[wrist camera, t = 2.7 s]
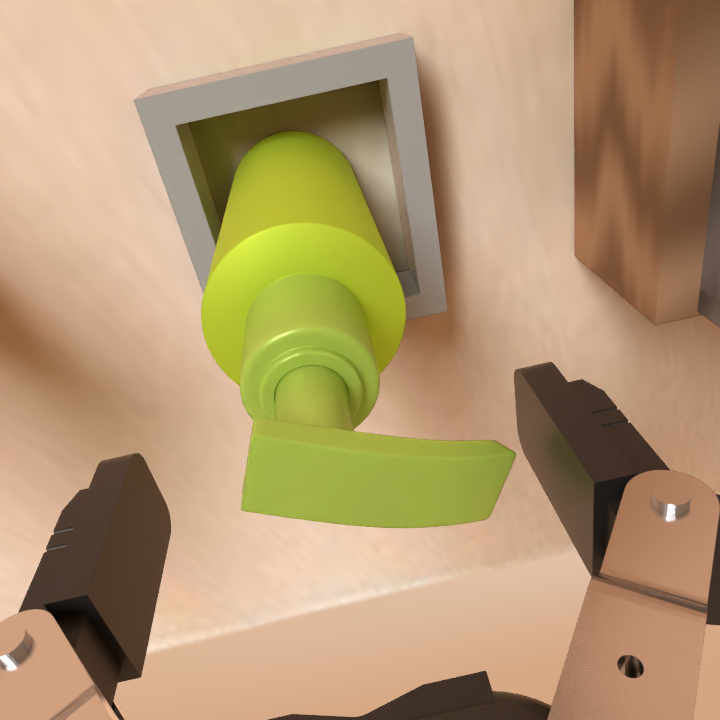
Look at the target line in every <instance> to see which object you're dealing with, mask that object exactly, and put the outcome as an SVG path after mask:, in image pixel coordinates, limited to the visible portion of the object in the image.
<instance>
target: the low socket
mask: <svg viewBox="0 0 720 720" xmlns="http://www.w3.org/2000/svg"><path fill="white" fill-rule="evenodd" d="M376 80H379V86H380V93H381V99H382V105H383V112H384V118H385V124H386V130H387V137H388V143H389V149H390V156H391V162H392V168H393V174H394V181H395V187H396V193H397V200H398V206H399V212H400V218H401V225H402V231H403V237H404V244H405V250H406V256H407V263H408V269H409V270H406V271H402V272H398V273H396V274H397V276H398V278H399V281H400V283H401V286H402V289H403V293H404V298H405V305H406V320H409V319H414V318H418V317H423V316H427V315H432V314H436V313H441V312H445V311H448V308H447V301H446V293H445V285H444V277H443V269H442V261H441V253H440V245H439V238H438V230H437V222H436V214H435V206H434V198H433V190H432V182H431V175H430V167H429V159H428V151H427V143H426V135H425V127H424V119H423V112H422V104H421V96H420V88H419V80H418V72H417V64H416V56H415V49H414V41H413V37H411V36H407V35H404V34H400V33H399V34H394V35H390V36H385V37H381V38H377V39H372V40H368V41H363V42H359V43H354V44H350V45H345V46H341V47H336V48H332V49H327V50H323V51H318V52H314V53H310V54H305V55H301V56H296V57H292V58H287V59H283V60H278V61H274V62H269V63H265V64H260V65H256V66H252V67H247V68H243V69H238V70H234V71H229V72H225V73H220V74H216V75H211V76H207V77H202V78H198V79H193V80H189V81H185V82H180V83H176V84H171V85H167V86H162V87H158V88H153V89H149V90H147V91H145V92H144V93H143V94H141V95H140V96H138V97H137V98H135V99H134V103H135V105H136V108H137V111H138V114H139V116H140V119H141V122H142V125H143V128H144V130H145V133H146V136H147V139H148V141H149V144H150V147H151V150H152V152H153V155H154V158H155V161H156V164H157V166H158V169H159V172H160V175H161V177H162V180H163V183H164V186H165V188H166V191H167V194H168V197H169V200H170V202H171V205H172V208H173V211H174V213H175V216H176V219H177V222H178V224H179V227H180V230H181V233H182V236H183V238H184V241H185V244H186V247H187V249H188V252H189V255H190V258H191V261H192V263H193V266H194V269H195V272H196V274H197V277H198V280H199V283H200V285H201V288H202V291H203V294H204V291H205V287H206V283H207V279H208V276H209V272H210V268H211V264H212V260H213V256H214V252H215V249H216V245H217V241H218V237H219V233H220V229H221V226H222V225H221V222H220V219H219V216H218V213H217V210H216V207H215V203H214V200H213V197H212V194H211V191H210V188H209V185H208V182H207V179H206V176H205V172H204V169H203V166H202V163H201V160H200V157H199V154H198V151H197V148H196V145H195V141H194V138H193V135H192V132H191V129H190V126H189V123H188V122H193V121H197V120H202V119H206V118H211V117H215V116H219V115H224V114H228V113H233V112H237V111H242V110H246V109H251V108H255V107H260V106H264V105H269V104H273V103H278V102H282V101H286V100H291V99H295V98H300V97H304V96H309V95H313V94H318V93H322V92H327V91H331V90H336V89H340V88H345V87H349V86H353V85H358V84H362V83H367V82H371V81H376Z"/></svg>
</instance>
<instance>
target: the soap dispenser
mask: <svg viewBox="0 0 720 720" xmlns="http://www.w3.org/2000/svg"><path fill="white" fill-rule="evenodd" d="M405 320H406V305H405V298H404V293H403V289H402V286H401V283H400V281H399V278H398V276H397V274H396V271H395V269H394V267H393V264H392V262H391V259H390V257H389V255H388V252H387V250H386V248H385V245H384V243H383V241H382V238H381V236H380V234H379V231H378V229H377V226H376V224H375V222H374V219H373V217H372V215H371V212H370V210H369V208H368V205H367V203H366V201H365V198H364V196H363V193H362V191H361V189H360V186H359V184H358V182H357V179H356V177H355V175H354V172H353V170H352V168H351V166H350V164H349V162H348V161H347V159H346V158H345V156H344V155H343V154H342V153H341V152H340V151H339V150H338V149H337V148H336V147H335V146H334V145H333V144H331V143H330V142H328V141H327V140H325V139H323V138H321V137H319V136H317V135H314V134H311V133H307V132H301V131H286V132H280V133H276V134H273V135H271V136H268V137H266V138H264V139H262V140H261V141H259V142H258V143H256V144H255V145H254V146H253V147H252V148H251V149H250V150H249V151H248V152H247V153H246V154H245V155H244V157H243V158H242V160H241V161H240V163H239V165H238V167H237V170H236V172H235V175H234V179H233V183H232V187H231V191H230V195H229V199H228V202H227V206H226V210H225V214H224V218H223V222H222V226H221V229H220V233H219V237H218V241H217V245H216V249H215V252H214V256H213V260H212V264H211V268H210V272H209V276H208V279H207V283H206V287H205V291H204V295H203V300H202V309H201V321H202V328H203V333H204V337H205V340H206V343H207V346H208V348H209V350H210V352H211V354H212V356H213V358H214V359H215V361H216V362H217V364H218V365H219V366H220V368H221V369H222V370H223V371H224V372H225V373H226V374H227V375H228V376H229V377H230V378H231V379H232V380H233V381H234V382H235V383H237V384H238V385H239V386H240V393H241V398H242V401H243V404H244V407H245V409H246V411H247V412H248V414H249V415H250V417H251V418H252V419H253V427H252V433H251V440H250V446H249V453H248V459H247V465H246V472H245V478H244V484H243V492H242V505H241V510H242V511H247V512H254V513H260V514H267V515H274V516H281V517H288V518H295V519H302V520H310V521H318V522H326V523H334V524H343V525H353V526H365V527H381V528H423V527H437V526H448V525H456V524H463V523H470V522H476V521H481V520H485V519H487V518H489V516H490V515H491V513H492V510H493V508H494V506H495V504H496V501H497V499H498V497H499V494H500V492H501V490H502V488H503V485H504V483H505V481H506V478H507V476H508V473H509V471H510V469H511V466H512V464H513V462H514V459H515V456H516V453H515V452H514V451H512V450H510V449H509V448H507V447H505V446H504V445H502V444H500V443H498V442H497V441H495V440H471V441H441V440H424V439H413V438H403V437H394V436H387V435H379V434H372V433H364V432H357V431H354V429H355V428H356V427H357V426H358V425H360V424H361V423H362V422H363V421H364V420H365V419H366V417H367V416H368V415H369V414H370V412H371V411H372V409H373V407H374V405H375V403H376V400H377V398H378V394H379V387H380V375H379V374H380V373H381V372H382V371H383V370H384V369H385V368H386V366H387V365H388V364H389V363H390V361H391V360H392V358H393V356H394V355H395V353H396V351H397V349H398V347H399V344H400V342H401V339H402V336H403V332H404V327H405Z"/></svg>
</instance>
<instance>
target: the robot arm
mask: <svg viewBox="0 0 720 720" xmlns="http://www.w3.org/2000/svg"><path fill="white" fill-rule="evenodd" d="M514 384H515V399H516V414H517V428H518V434H519V439H520V443H521V446H522V449H523V451H524V454H525V456H526V458H527V460H528V461H529V463H530V465H531V467H532V469H533V471H534V472H535V474H536V476H537V478H538V480H539V482H540V483H541V485H542V487H543V489H544V491H545V493H546V494H547V496H548V498H549V500H550V502H551V504H552V505H553V507H554V509H555V511H556V513H557V515H558V516H559V518H560V520H561V522H562V524H563V526H564V527H565V529H566V531H567V533H568V535H569V536H570V538H571V540H572V542H573V544H574V546H575V547H576V549H577V551H578V553H579V555H580V557H581V558H582V560H583V562H584V564H585V566H586V568H587V569H588V571H589V573H590V575H591V577H592V578H591V580H590V583H589V586H588V589H587V592H586V595H585V598H584V602H583V605H582V608H581V611H580V615H579V618H578V622H577V624H576V628H575V631H574V634H573V638H572V641H571V644H570V647H569V651H568V654H567V657H566V660H565V663H564V667H563V670H562V674H561V677H560V680H559V683H558V686H557V690H556V693H555V696H554V699H553V703H552V706H551V705H548V704H546V703H544V702H541V701H539V700H536V699H533V698H530V697H527V696H523V695H519V694H514V693H508V692H497V691H492V689H491V685H490V683H489V679H488V676H487V673H486V671H482V672H478V673H473V674H469V675H465V676H460V677H456V678H451V679H447V680H442V681H438V682H433V683H429V684H424V685H422V686H420V687H418V688H416V689H414V690H412V691H410V692H408V693H406V694H404V695H402V696H400V697H399V698H397V699H395V700H393V701H391V702H389V703H387V704H385V705H383V706H381V707H379V708H377V709H375V710H373V711H372V712H370V713H368V714H365V715H363V716H360V717H336V716H318V715H299V714H291V715H287V716H282V717H278V718H273V719H269V720H693V718H694V710H695V703H696V695H697V687H698V680H699V671H700V665H701V657H702V649H703V642H704V633H705V626H706V624H711V625H720V495H717V494H715V493H714V492H713V491H712V490H711V488H709V487H708V486H707V485H706V484H705V483H703V482H702V481H700V480H699V479H697V478H695V477H693V476H690V475H687V474H685V473H681V472H677V471H671V470H670V469H669V468H668V467H667V466H666V465H665V463H664V462H663V461H662V460H661V459H660V457H659V456H658V455H657V454H656V453H655V451H654V450H653V449H652V448H651V447H650V446H649V444H648V443H647V442H646V441H645V440H644V438H643V437H642V436H641V435H640V434H639V432H638V431H637V430H636V429H635V428H634V427H633V425H632V424H631V423H628V419H627V418H626V417H625V416H624V415H623V413H622V412H621V411H620V410H617V406H616V405H615V404H614V403H613V402H612V400H611V399H610V398H609V397H608V396H607V394H606V393H605V392H604V391H603V390H601V389H599V388H597V387H595V386H594V385H592V384H590V383H588V382H586V381H584V380H582V379H581V380H577V381H572V382H567V380H566V379H565V378H564V376H563V375H562V374H561V372H560V371H559V370H558V369H557V367H556V366H555V365H554V364H553V363H552V362H548V363H543V364H539V365H534V366H530V367H525V368H521V369H516V370H515V373H514ZM170 534H171V521H170V515H169V510H168V507H167V505H166V502H165V500H164V498H163V496H162V494H161V492H160V490H159V488H158V486H157V484H156V482H155V480H154V478H153V476H152V474H151V472H150V470H149V468H148V466H147V464H146V462H145V460H144V458H143V457H142V456H141V455H140V454H138V453H135V454H131V455H126V456H122V457H117V458H113V459H108V460H104V461H101V462H100V463H99V465H98V467H97V469H96V472H95V474H94V477H93V479H92V482H91V484H90V487H89V488H88V489H84V490H80V491H79V492H78V493H77V494H76V495H75V497H74V498H73V499H72V500H71V501H70V502H69V503H68V505H67V506H66V507H65V508H64V509H63V510H62V512H61V515H60V517H59V519H58V522H57V524H56V526H55V529H54V535H52V536H51V538H50V540H49V543H48V545H47V547H46V549H47V552H45V553H44V554H43V557H42V559H41V561H40V564H39V566H38V568H37V571H36V573H35V575H34V578H33V580H32V582H31V584H30V587H29V589H28V591H27V594H26V596H25V598H24V601H23V603H22V605H21V608H20V610H19V612H18V613H17V614H15V615H13V616H11V617H9V618H7V619H5V620H4V621H2V622H1V623H0V720H126V719H125V717H124V715H123V714H122V712H121V711H120V709H119V707H118V706H117V704H116V703H115V702H114V695H115V691H116V687H117V683H118V682H122V681H127V680H131V679H136V678H140V677H141V675H142V670H143V665H144V660H145V656H146V651H147V646H148V641H149V636H150V631H151V626H152V622H153V617H154V612H155V607H156V602H157V597H158V593H159V588H160V583H161V578H162V573H163V568H164V563H165V559H166V554H167V549H168V544H169V539H170Z"/></svg>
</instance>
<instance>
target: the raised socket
mask: <svg viewBox="0 0 720 720" xmlns="http://www.w3.org/2000/svg"><path fill="white" fill-rule="evenodd" d="M574 140H575V256H576V257H577V258H578V259H580V260H581V261H582V262H583V263H584V264H585V265H586V266H588V267H589V268H590V269H591V270H592V271H593V272H594V273H596V274H597V275H598V276H599V277H600V278H601V279H603V280H604V281H605V282H606V283H607V284H608V285H609V286H611V287H612V288H613V289H614V290H615V291H616V292H618V293H619V294H620V295H621V296H622V297H623V298H624V299H626V300H627V301H628V302H629V303H630V304H631V305H632V306H634V307H635V308H636V309H637V310H638V311H639V312H641V313H642V314H643V315H644V316H645V317H646V318H647V319H649V320H650V321H651V322H652V323H653V324H654V325H659V324H664V323H668V322H673V321H677V320H681V319H686V318H690V317H695V316H699V315H704V316H705V317H706V318H708V319H709V320H710V321H712V322H713V323H714V324H716V325H717V326H718V327H720V0H574Z"/></svg>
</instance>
